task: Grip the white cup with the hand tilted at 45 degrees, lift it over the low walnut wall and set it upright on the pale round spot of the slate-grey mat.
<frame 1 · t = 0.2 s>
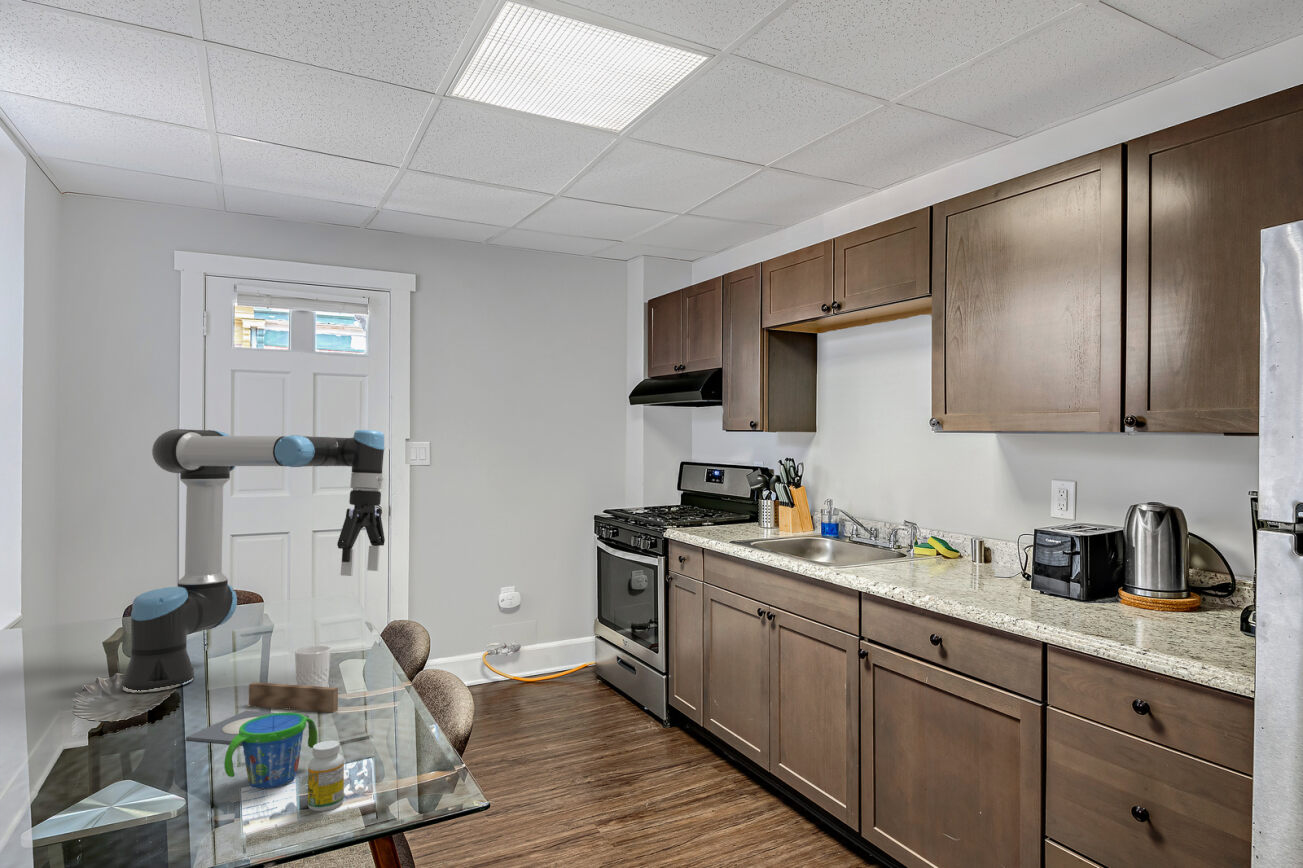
hand: (360, 573, 189), 27 cm above the table, tool pointing down, fingers open, 13 cm apart
snack cup: (272, 782, 129), on the table
slate mat: (249, 728, 155), on the table
white cup: (312, 691, 180), on the table
low wall: (292, 708, 168), on the table
supplement bottle: (325, 805, 120), on the table
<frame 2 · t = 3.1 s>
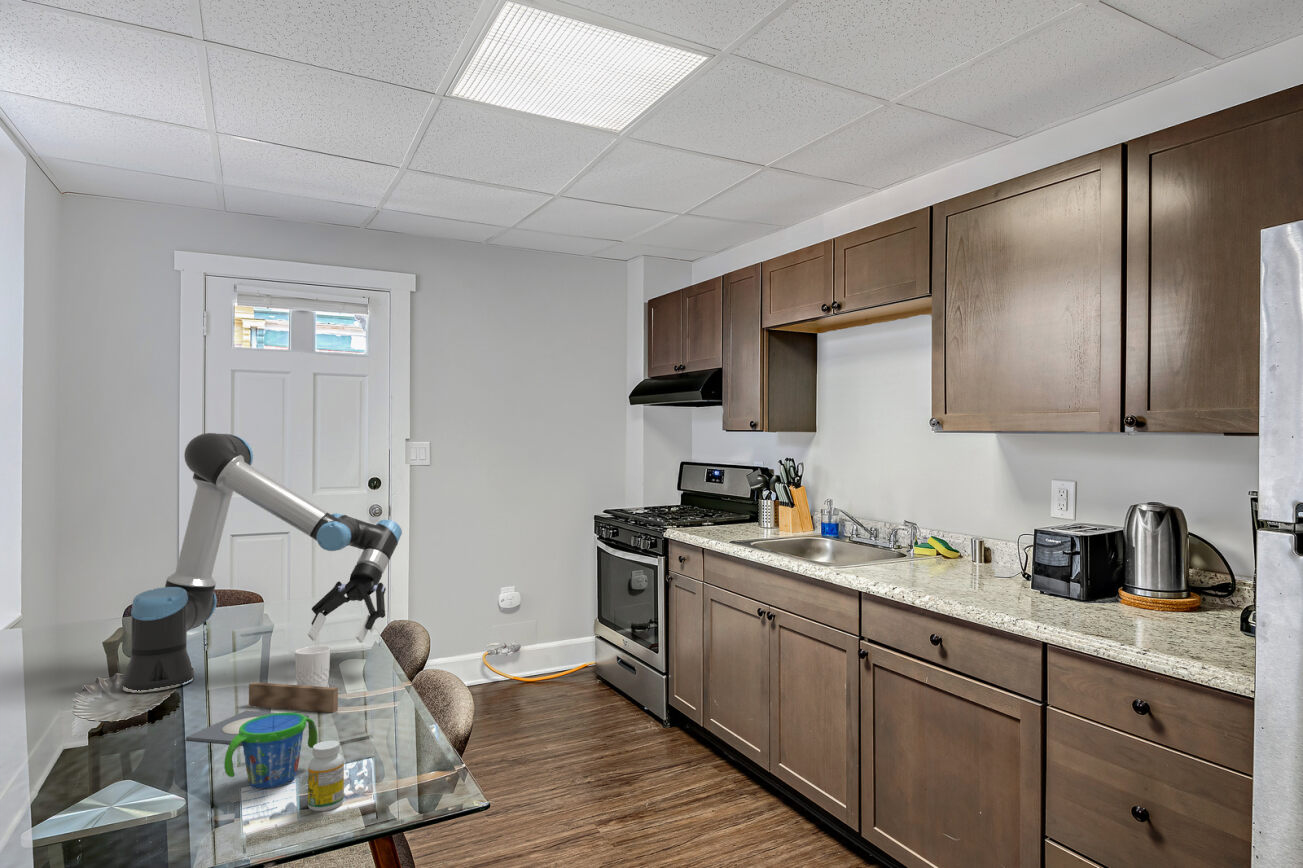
hand: (334, 638, 187), 11 cm above the table, tool tilted 45°, fingers open, 13 cm apart
nothing on the table moved.
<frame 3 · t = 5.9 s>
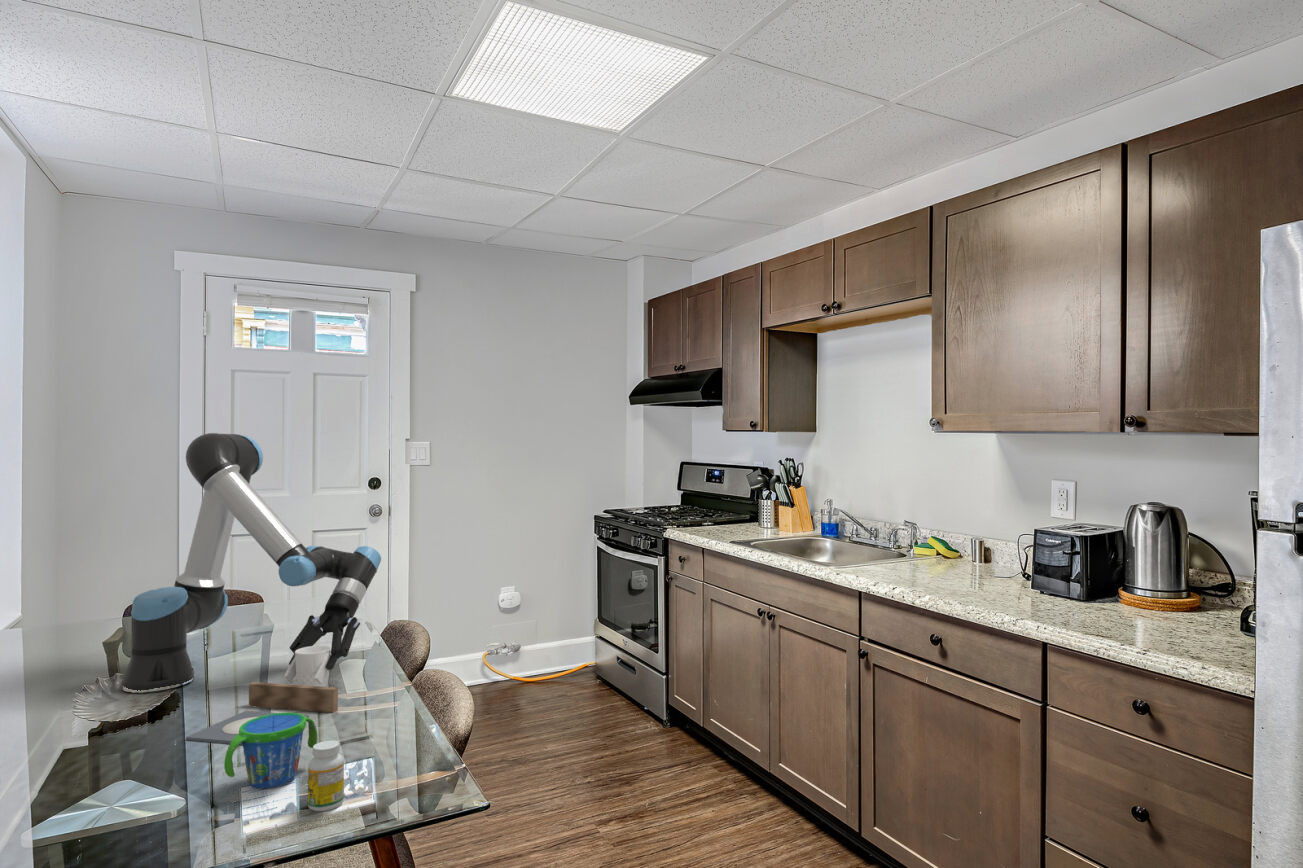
hand: (303, 680, 177), 4 cm above the table, tool tilted 45°, fingers closed on white cup, 8 cm apart
white cup: (312, 691, 180), on the table, touching gripper
everything else where it was.
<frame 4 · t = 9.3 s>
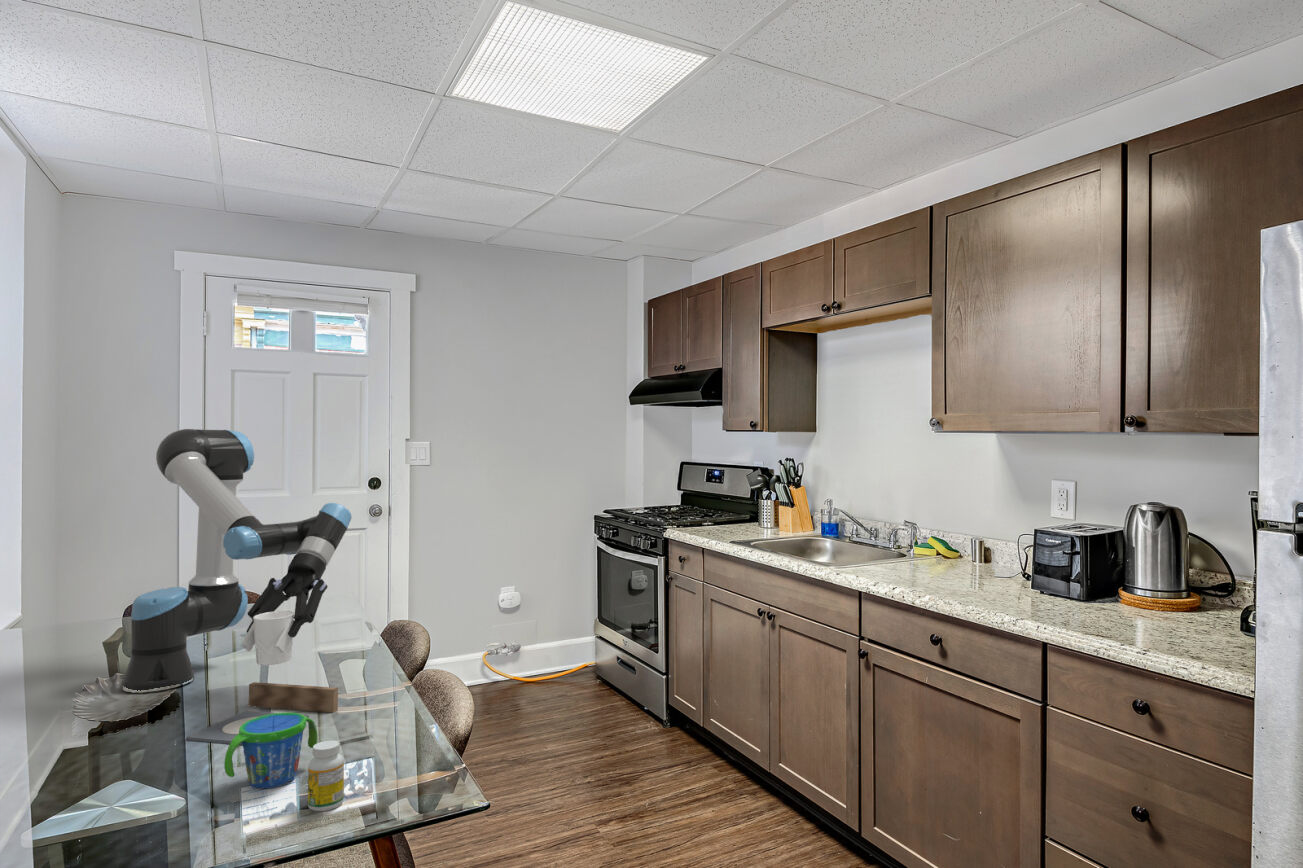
hand: (262, 648, 157), 16 cm above the table, tool tilted 45°, fingers closed on white cup, 8 cm apart
white cup: (274, 662, 161), point 12 cm above the table, touching gripper
everything else where it was.
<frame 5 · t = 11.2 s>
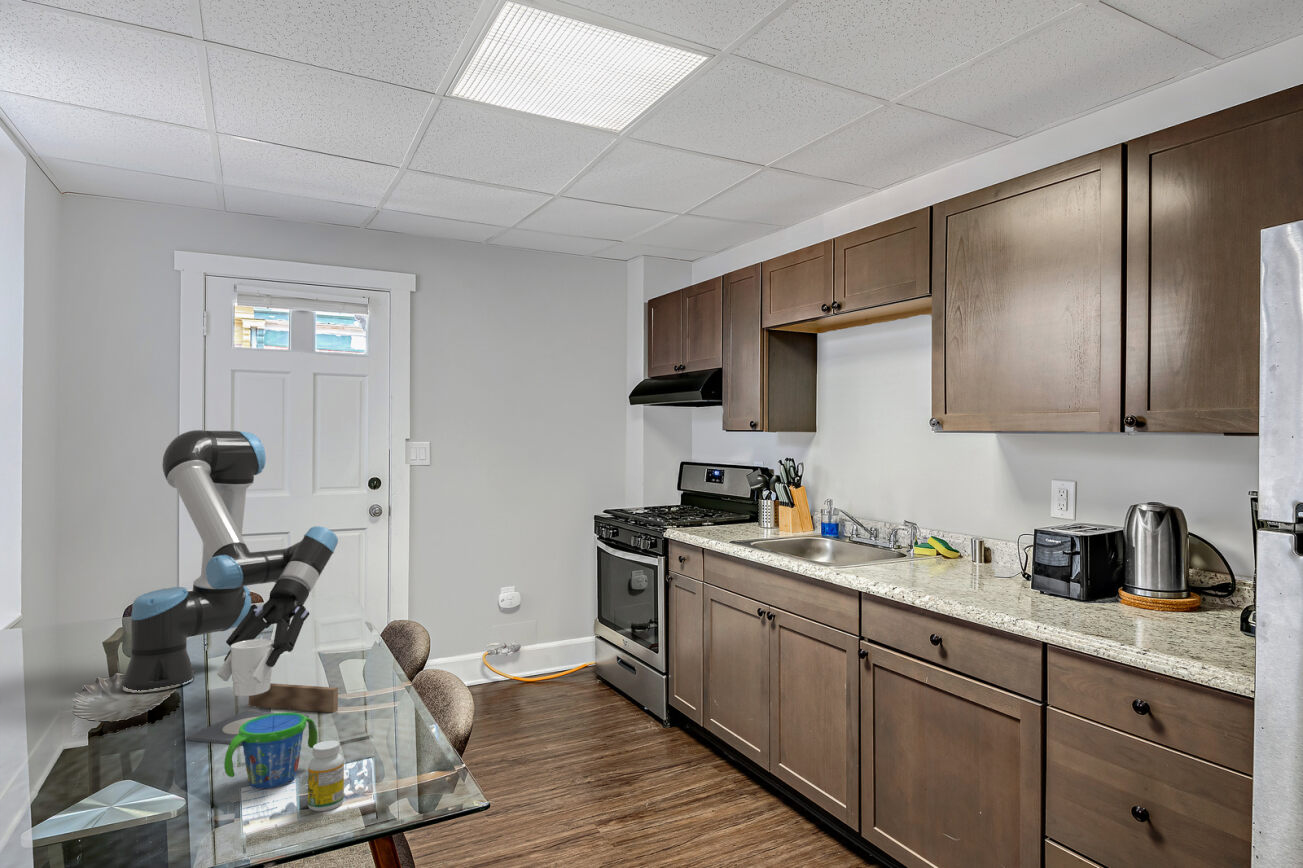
hand: (239, 678, 152), 11 cm above the table, tool tilted 45°, fingers closed on white cup, 8 cm apart
white cup: (252, 692, 155), point 8 cm above the table, touching gripper
everything else where it was.
when the fingers open (5 cm above the table, at t = 12.9 s): white cup drops 1 cm, resting on slate mat.
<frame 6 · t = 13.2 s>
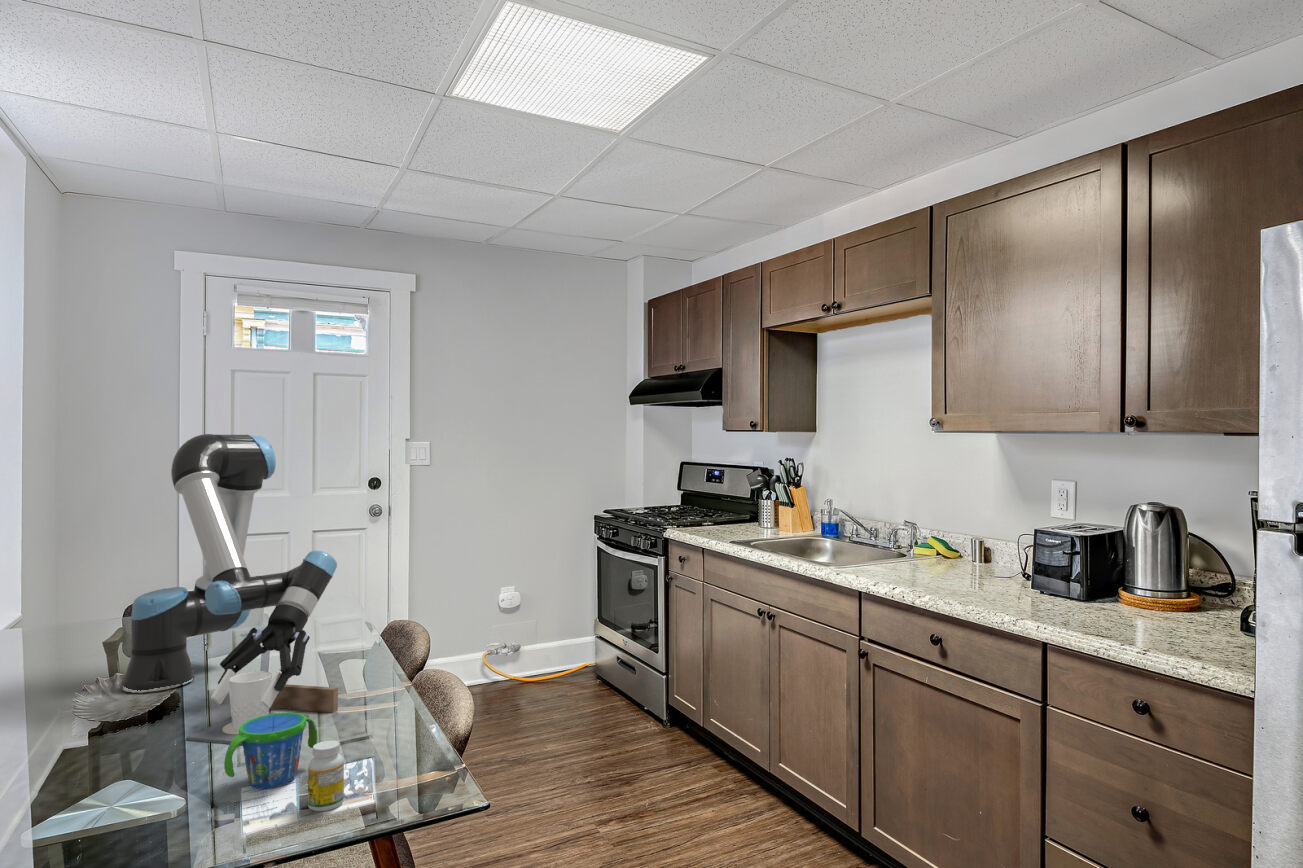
hand: (240, 702, 152), 6 cm above the table, tool tilted 45°, fingers open, 11 cm apart
white cup: (250, 725, 155), point 1 cm above the table, touching slate mat
everything else where it was.
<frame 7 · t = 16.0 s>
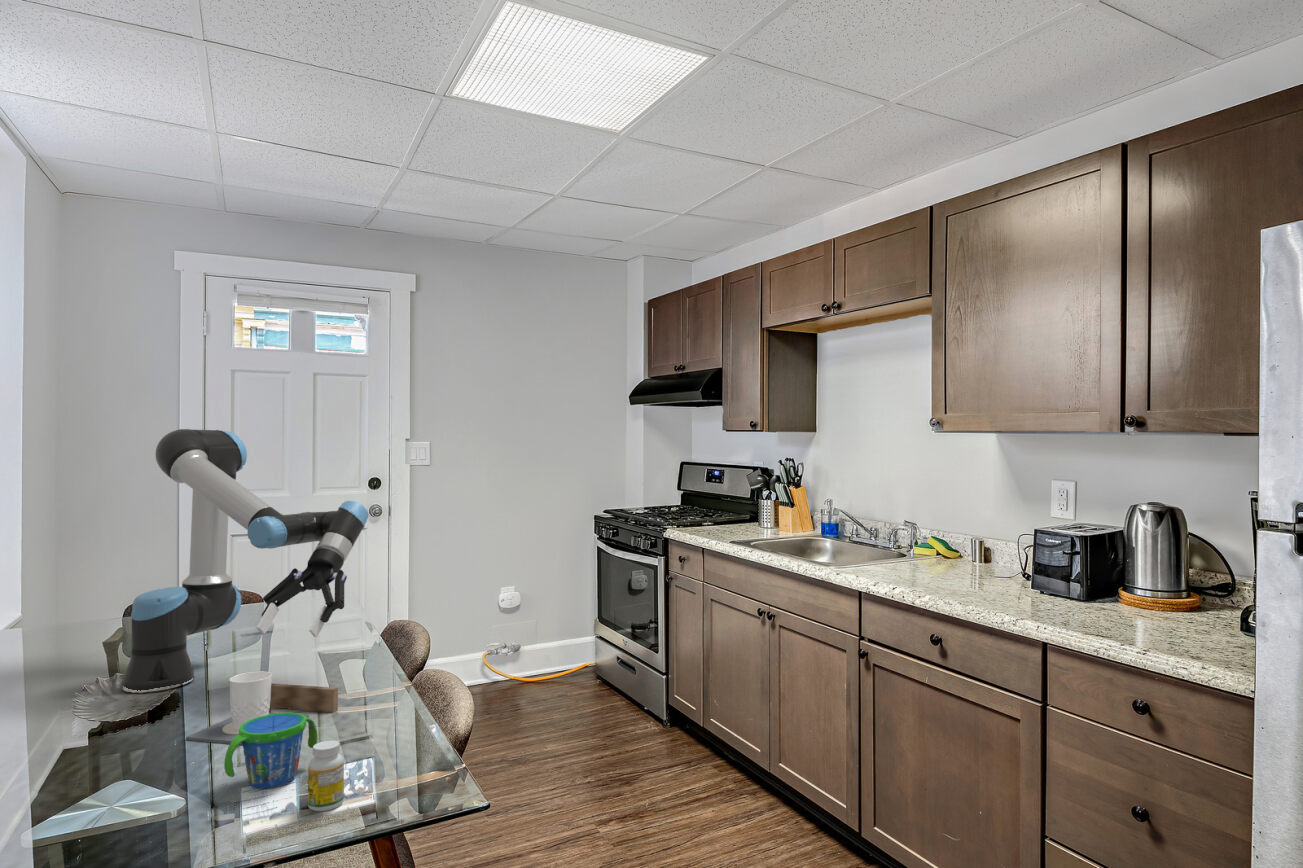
hand: (286, 632, 166), 18 cm above the table, tool tilted 45°, fingers open, 13 cm apart
nothing on the table moved.
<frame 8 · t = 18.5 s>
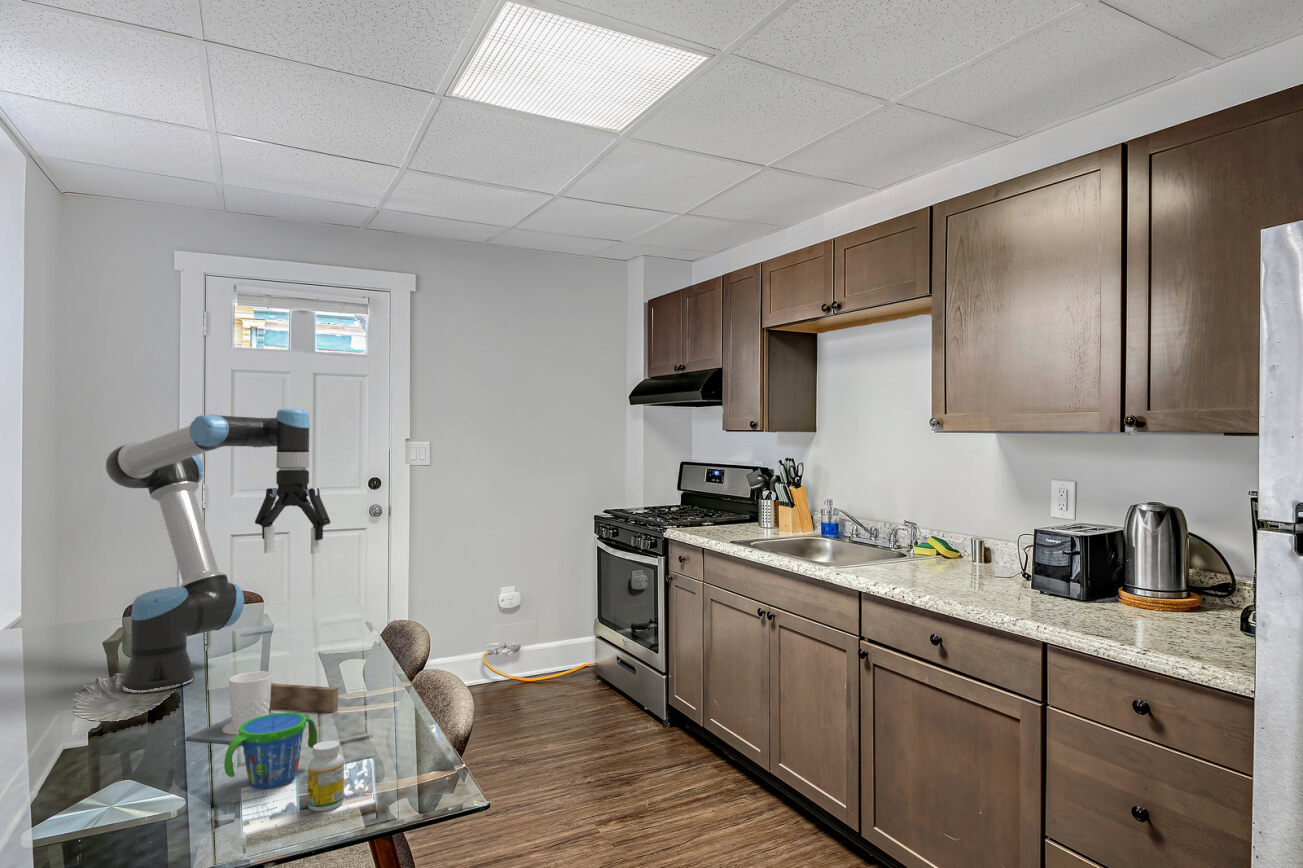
hand: (292, 552, 188), 33 cm above the table, tool pointing down, fingers open, 13 cm apart
nothing on the table moved.
at the end: white cup inside the target area on the slate mat (0.1 cm from its centre), point 0.6 cm above the slate mat's base; white cup tilted 0°; the gripper is holding nothing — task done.
